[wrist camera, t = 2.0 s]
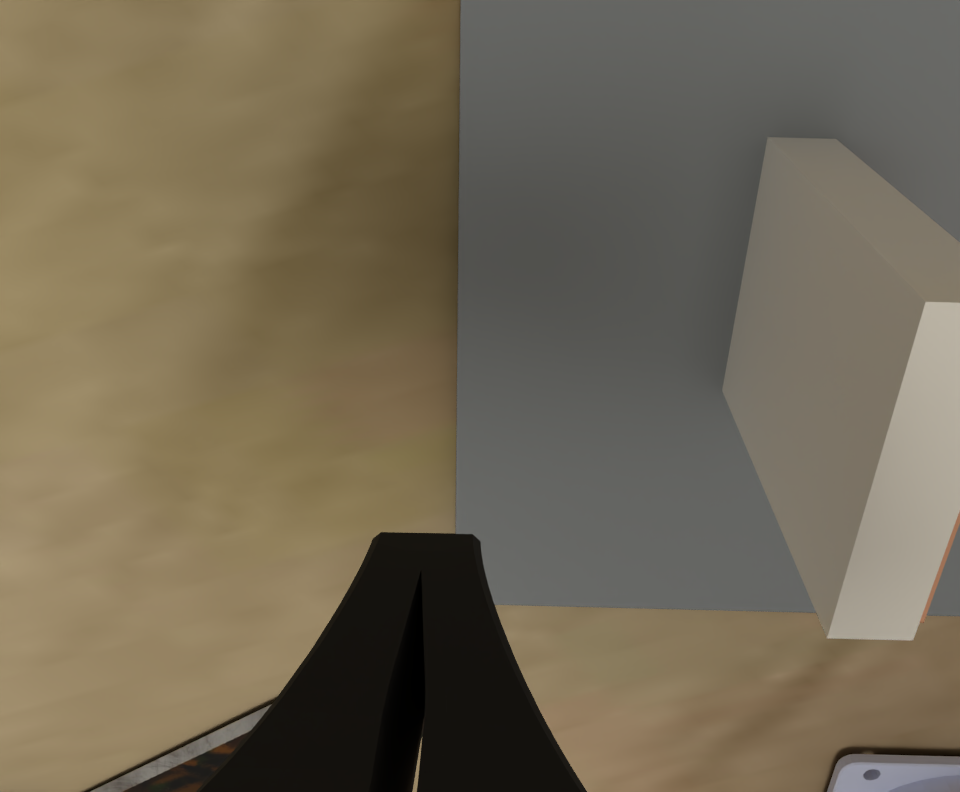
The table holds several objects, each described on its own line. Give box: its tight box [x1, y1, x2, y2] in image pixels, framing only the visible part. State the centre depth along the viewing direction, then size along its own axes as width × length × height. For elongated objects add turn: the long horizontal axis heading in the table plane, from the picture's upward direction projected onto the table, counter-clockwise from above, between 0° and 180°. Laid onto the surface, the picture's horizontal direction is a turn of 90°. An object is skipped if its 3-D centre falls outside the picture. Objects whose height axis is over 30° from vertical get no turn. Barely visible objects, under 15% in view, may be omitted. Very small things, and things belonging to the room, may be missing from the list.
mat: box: [456, 0, 960, 616], centre depth 22 cm, size 16×16×1 cm
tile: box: [722, 137, 960, 640], centre depth 17 cm, size 2×6×8 cm, turn 179°
